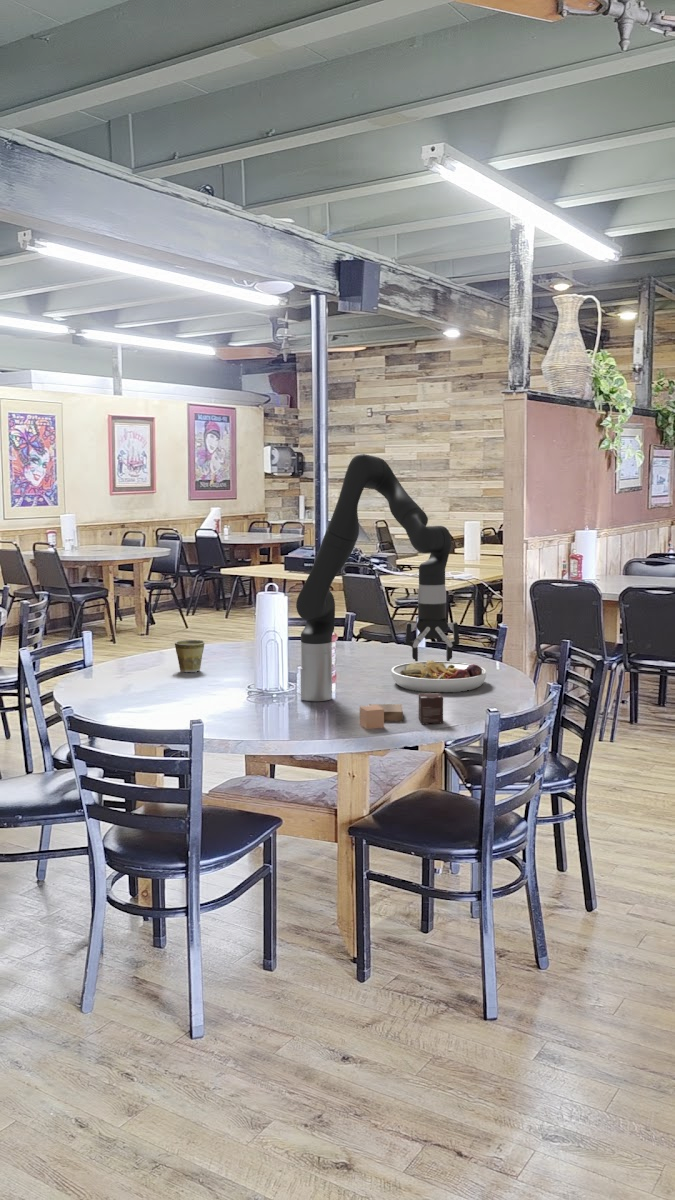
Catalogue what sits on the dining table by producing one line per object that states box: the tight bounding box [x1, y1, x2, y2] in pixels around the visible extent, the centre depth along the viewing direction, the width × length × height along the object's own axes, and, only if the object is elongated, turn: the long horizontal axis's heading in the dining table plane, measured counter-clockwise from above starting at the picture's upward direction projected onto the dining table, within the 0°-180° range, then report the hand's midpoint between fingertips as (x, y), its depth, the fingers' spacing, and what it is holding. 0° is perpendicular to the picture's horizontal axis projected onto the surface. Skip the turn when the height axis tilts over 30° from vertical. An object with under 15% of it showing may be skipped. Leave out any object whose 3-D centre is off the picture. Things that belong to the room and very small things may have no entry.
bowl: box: [391, 660, 487, 693], centre depth 320 cm, size 30×30×8 cm
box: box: [418, 692, 444, 724], centre depth 272 cm, size 6×6×7 cm
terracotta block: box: [359, 705, 385, 730], centre depth 267 cm, size 5×5×5 cm
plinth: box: [368, 703, 404, 722], centre depth 277 cm, size 9×9×3 cm
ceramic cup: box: [174, 639, 205, 673], centre depth 345 cm, size 13×10×10 cm
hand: (432, 660), depth 271 cm, fingers open, 8 cm apart
